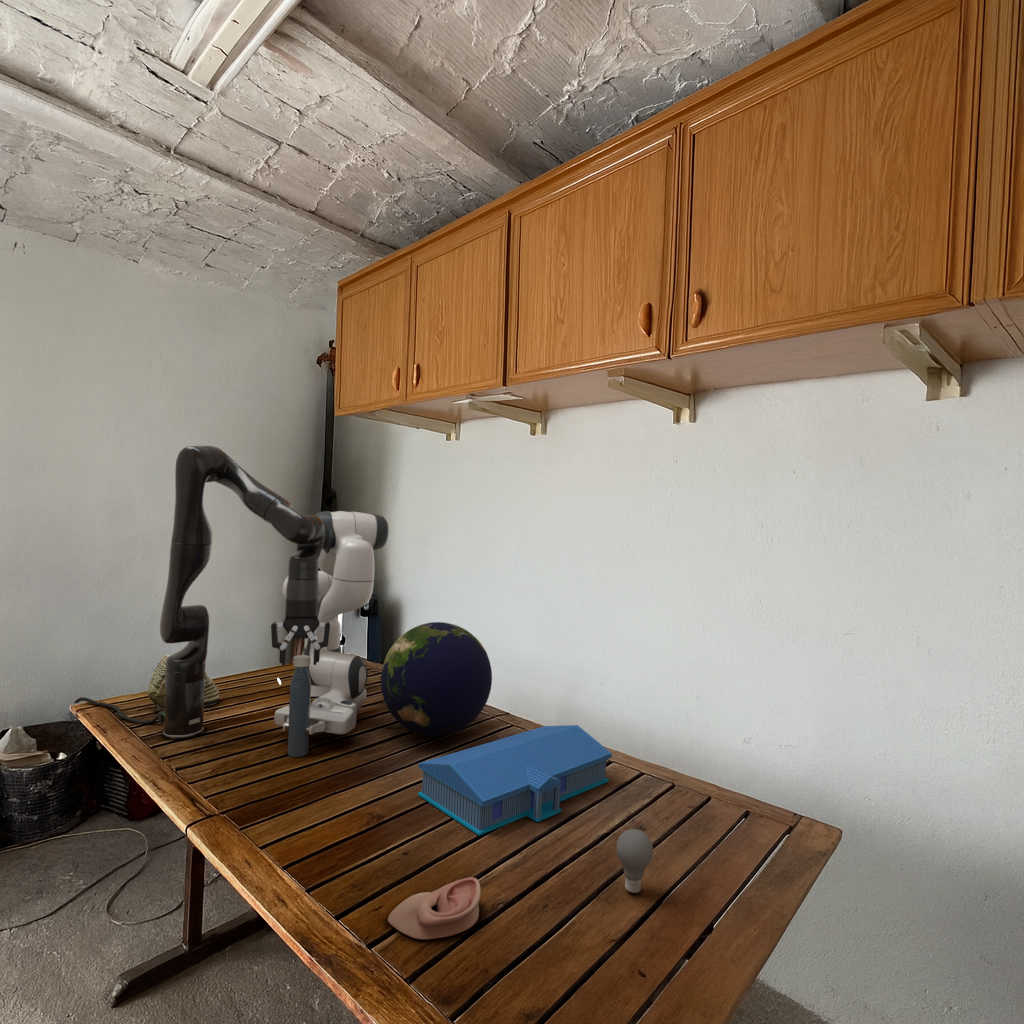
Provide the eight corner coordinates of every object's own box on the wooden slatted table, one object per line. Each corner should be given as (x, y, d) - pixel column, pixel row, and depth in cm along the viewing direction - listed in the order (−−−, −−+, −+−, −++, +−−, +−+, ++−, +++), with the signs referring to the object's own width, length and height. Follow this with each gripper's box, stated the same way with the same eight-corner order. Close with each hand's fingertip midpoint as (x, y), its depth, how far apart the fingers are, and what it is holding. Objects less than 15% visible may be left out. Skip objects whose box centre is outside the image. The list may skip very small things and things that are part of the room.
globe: (355, 741, 164) (360, 626, 164) (415, 708, 192) (419, 609, 191) (458, 763, 153) (464, 640, 152) (506, 725, 181) (511, 620, 180)
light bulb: (610, 879, 108) (613, 822, 108) (644, 879, 109) (647, 822, 109) (619, 902, 102) (622, 840, 102) (655, 901, 103) (658, 840, 103)
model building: (489, 842, 118) (492, 789, 118) (416, 794, 136) (418, 748, 136) (620, 786, 145) (622, 742, 145) (544, 751, 163) (546, 712, 163)
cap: (310, 666, 154) (310, 658, 154) (292, 667, 153) (292, 659, 153) (310, 662, 158) (310, 654, 158) (292, 663, 157) (293, 655, 157)
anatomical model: (380, 905, 93) (408, 862, 104) (379, 932, 93) (407, 886, 104) (467, 921, 90) (487, 875, 101) (466, 949, 90) (486, 900, 101)
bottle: (303, 757, 153) (307, 663, 153) (284, 756, 153) (287, 662, 153) (311, 749, 158) (315, 658, 157) (292, 748, 158) (296, 657, 158)
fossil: (144, 707, 182) (145, 655, 182) (212, 696, 194) (213, 647, 194) (151, 716, 175) (153, 662, 175) (221, 703, 188) (223, 653, 188)
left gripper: (269, 599, 149) (266, 669, 149) (333, 599, 153) (330, 667, 153) (272, 594, 156) (269, 661, 156) (332, 594, 160) (330, 659, 160)
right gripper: (292, 695, 171) (260, 711, 157) (361, 704, 166) (334, 721, 152) (291, 718, 171) (259, 736, 157) (360, 728, 166) (333, 747, 152)
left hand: (299, 664), depth 155 cm, fingers open, 6 cm apart
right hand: (297, 729), depth 155 cm, fingers closed on bottle, 5 cm apart
